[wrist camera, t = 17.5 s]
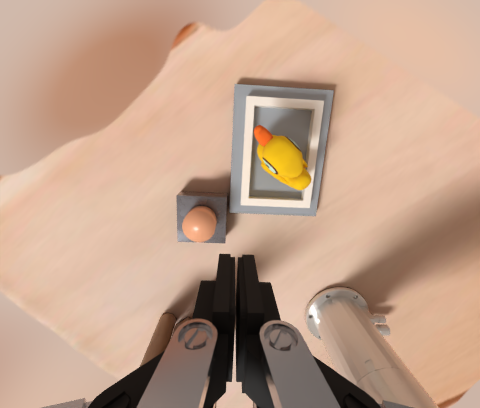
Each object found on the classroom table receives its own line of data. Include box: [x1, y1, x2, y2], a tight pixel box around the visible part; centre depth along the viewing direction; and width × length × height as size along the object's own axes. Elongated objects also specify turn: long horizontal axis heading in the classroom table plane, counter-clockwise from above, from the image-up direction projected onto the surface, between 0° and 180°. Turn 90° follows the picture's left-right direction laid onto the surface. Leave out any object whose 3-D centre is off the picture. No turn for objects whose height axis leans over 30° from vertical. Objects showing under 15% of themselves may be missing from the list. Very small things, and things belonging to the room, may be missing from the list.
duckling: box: [254, 125, 311, 190], centre depth 32 cm, size 11×5×10 cm, turn 45°
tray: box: [229, 84, 334, 216], centre depth 37 cm, size 15×20×3 cm
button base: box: [177, 192, 227, 243], centre depth 39 cm, size 8×8×3 cm
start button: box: [182, 206, 217, 242], centre depth 36 cm, size 5×5×3 cm
